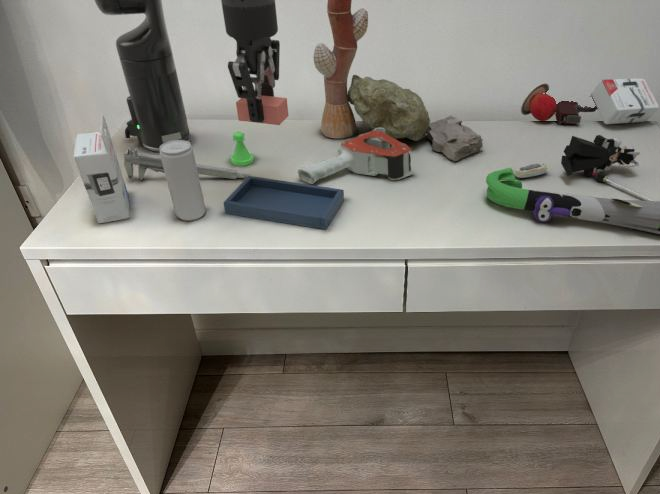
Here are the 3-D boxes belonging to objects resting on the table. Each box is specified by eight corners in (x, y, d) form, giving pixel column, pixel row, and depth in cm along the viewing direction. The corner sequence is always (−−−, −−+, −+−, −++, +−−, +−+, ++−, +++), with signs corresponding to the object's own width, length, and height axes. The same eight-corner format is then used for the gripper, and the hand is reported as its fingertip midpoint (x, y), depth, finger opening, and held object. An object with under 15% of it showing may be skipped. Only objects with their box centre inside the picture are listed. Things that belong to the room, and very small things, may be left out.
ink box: (603, 78, 119) (645, 77, 123) (589, 94, 123) (630, 92, 127) (619, 109, 116) (661, 107, 120) (604, 125, 120) (645, 122, 124)
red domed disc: (550, 91, 126) (570, 108, 123) (524, 118, 128) (543, 135, 125) (542, 76, 119) (563, 93, 116) (515, 104, 121) (535, 122, 118)
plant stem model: (317, 138, 114) (307, -26, 95) (319, 124, 119) (309, -34, 100) (368, 138, 114) (368, -26, 95) (367, 124, 120) (367, -33, 101)
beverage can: (179, 207, 93) (162, 139, 85) (208, 206, 93) (194, 139, 85) (173, 222, 89) (155, 153, 81) (203, 221, 89) (188, 152, 82)
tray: (225, 213, 91) (223, 202, 90) (250, 186, 98) (248, 175, 97) (325, 229, 88) (325, 218, 87) (344, 200, 95) (343, 189, 94)
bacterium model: (504, 179, 98) (488, 169, 102) (503, 188, 99) (487, 178, 103) (557, 167, 102) (540, 158, 105) (556, 176, 103) (539, 167, 106)
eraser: (279, 125, 87) (277, 106, 85) (238, 120, 88) (235, 102, 87) (288, 116, 90) (286, 97, 88) (249, 111, 92) (246, 93, 90)
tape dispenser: (296, 192, 100) (405, 198, 96) (291, 166, 96) (404, 171, 93) (323, 146, 113) (420, 150, 109) (320, 122, 109) (419, 125, 106)
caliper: (129, 181, 99) (119, 148, 95) (130, 178, 100) (121, 146, 96) (244, 179, 100) (238, 147, 96) (244, 176, 101) (239, 144, 97)
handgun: (664, 129, 123) (639, 103, 134) (669, 117, 121) (643, 91, 132) (557, 126, 121) (540, 99, 133) (560, 113, 120) (543, 88, 131)
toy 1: (669, 243, 87) (479, 217, 92) (660, 207, 95) (486, 185, 100) (683, 210, 83) (483, 185, 88) (672, 175, 91) (490, 154, 96)
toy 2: (627, 177, 85) (704, 175, 89) (562, 129, 100) (631, 130, 104) (610, 220, 90) (684, 216, 94) (550, 168, 105) (617, 167, 109)
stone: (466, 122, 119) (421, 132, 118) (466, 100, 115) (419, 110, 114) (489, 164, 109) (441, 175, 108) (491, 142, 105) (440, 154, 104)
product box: (98, 198, 94) (68, 115, 85) (129, 194, 96) (103, 111, 86) (97, 224, 88) (65, 137, 79) (130, 219, 89) (102, 132, 80)
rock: (404, 66, 121) (339, 83, 120) (423, 52, 103) (346, 71, 102) (420, 137, 126) (356, 153, 124) (441, 135, 107) (367, 154, 106)
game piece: (258, 158, 107) (254, 129, 103) (244, 167, 104) (239, 137, 100) (241, 153, 108) (236, 124, 104) (226, 162, 105) (221, 132, 102)
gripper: (251, 11, 72) (267, 136, 83) (291, -10, 83) (300, 103, 94) (199, 7, 74) (221, 130, 84) (245, -13, 84) (259, 98, 95)
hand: (263, 115), depth 89 cm, fingers closed on eraser, 4 cm apart
